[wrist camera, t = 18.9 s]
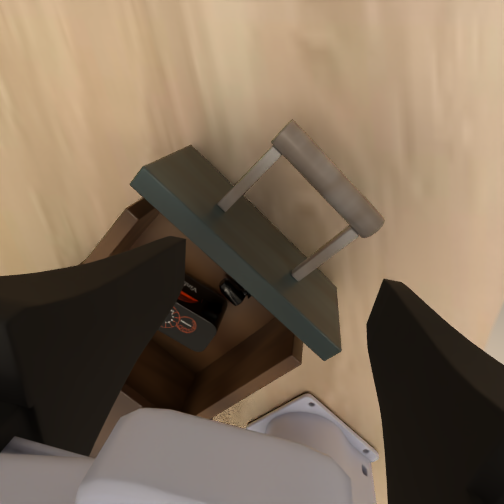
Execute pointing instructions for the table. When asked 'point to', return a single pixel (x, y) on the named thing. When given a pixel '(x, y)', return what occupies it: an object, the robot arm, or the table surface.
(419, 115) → the table surface
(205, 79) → the table surface
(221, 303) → the wireless earbuds
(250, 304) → the drawer
